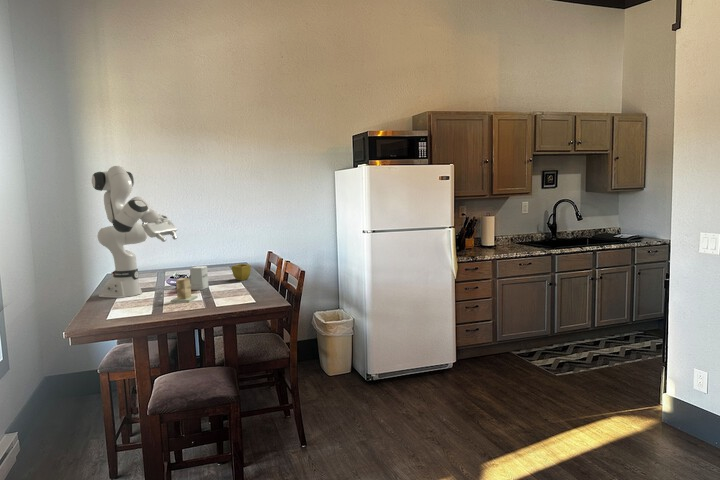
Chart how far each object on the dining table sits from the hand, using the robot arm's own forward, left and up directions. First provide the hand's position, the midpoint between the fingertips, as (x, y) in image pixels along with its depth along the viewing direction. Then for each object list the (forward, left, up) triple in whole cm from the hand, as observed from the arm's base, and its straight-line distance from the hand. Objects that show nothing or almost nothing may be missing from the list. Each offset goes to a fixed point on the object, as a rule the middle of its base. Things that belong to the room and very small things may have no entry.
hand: (170, 239), depth 286 cm
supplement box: (+3, +24, -32) cm, 40 cm away
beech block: (+7, -4, -30) cm, 32 cm away
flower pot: (+19, +50, -32) cm, 62 cm away
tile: (+7, -4, -31) cm, 32 cm away
